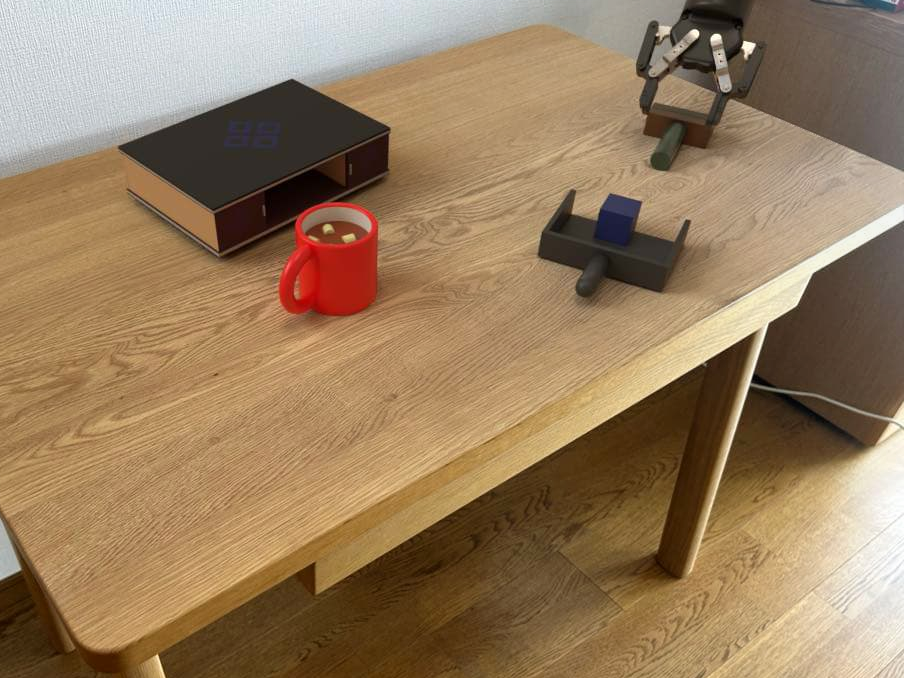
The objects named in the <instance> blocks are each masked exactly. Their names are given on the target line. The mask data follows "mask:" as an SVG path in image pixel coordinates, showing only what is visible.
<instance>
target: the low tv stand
mask: <svg viewBox="0 0 904 678" xmlns="http://www.w3.org/2000/svg"><path fill="white" fill-rule="evenodd" d="M391 130H392V128H391V127H390V126H389V125H387V124H384V123H383V122H381V121H378V120H376V119H374V118H372V117H370V116H368V115H366V114H364V113H362V112H360V111H359V110H356V109H354V108H352V107H350V106H348V105H346V104H344V103H342V102H340V101H338V100H336V99H334V98H332V97H330V96H328V95H326V94H324V93H322V92H320V91H318V90H316V89H314V88H312V87H310V86H308V85H306V84H304V83H302V82H300V81H298V80H296V79H294V78H290V79H287V80H284V81H282V82H280V83H277V84H274V85H271V86H269V87H266V88H264V89H262V90H259V91H256V92H254V93H251V94H248V95H246V96H243V97H241V98H238V99H236V100H233V101H231V102H228V103H226V104H225V103H224V104H223V105H220V106H217V107H215V108H212V109H210V110H207V111H205V112H202V113H199V114H197V115H195V116H192V117H189V118H186V119H184V120H182V121H179V122H176V123H174V124H171V125H169V126H166V127H163V128H161V129H158V130H156V131H153V132H151V133H148V134H145V135H143V136H141V137H138V138H136V139H135V138H134V139H132V140H130V141H128V142H125V143H122V144H120V145H118V146H117V149H118V153H120V157H121V162H122V166H123V170H124V175H125V180H126V186H127V188H125V190H126V194H127V195H129V196H130V197H132V198H133V199H134V200H136V201H138V202H139V203H140V204H142V205H143V206H144V207H146V208H147V209H149V210H150V211H152V212H153V213H155V215H157V216H159V217H160V218H161V219H163V220H164V221H166V222H167V223H168V224H170V225H171V226H173V227H174V228H176V229H177V230H179V231H180V232H181V233H183V234H184V235H186V236H187V237H188V238H190V239H191V240H193V241H195V242H196V243H197V244H199V245H200V246H201V247H202V248H204V249H206V250H207V251H208V252H210V253H212V254H213V255H214V256H216V257H217V258H219V259H220V258H222V257H224V256H227V255H228V254H230V253H232V252H234V251H236V250H239V249H240V248H242V247H245V246H246V245H249V244H250V243H253V242H254V241H256V240H259V239H261V238H262V237H263V238H264V237H265V236H267V235H268V234H270V233H273V232H275V231H277V230H279V229H281V228H283V227H285V226H287V225H289V224H292V223H293V222H296V221H297V219H298V217H299V216H300V215H301V214H302V213H303V212H304V211H306V210H308V209H309V208H311V207H314V206H316V205H320V204H324V203H334V202H336V201H337V200H339V199H341V198H343V197H346V196H348V195H349V194H352V193H354V192H356V191H357V190H360V189H361V188H364V187H366V186H368V185H370V184H372V183H374V182H376V181H378V180H380V179H381V178H384V177H387V176H389V175H390V174H391V173H390V170H391V169H390V168H389V153H390V152H389V151H390V134H391V133H392V131H391Z"/></svg>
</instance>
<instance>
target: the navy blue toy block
mask: <svg viewBox="0 0 904 678" xmlns="http://www.w3.org/2000/svg"><path fill="white" fill-rule="evenodd" d="M642 204H643V201H642V200H639V199H634V198H631V197H627V196H623V195H621V194H620V195H619V194H616V193H612V192H609V194H608V195H607V196H606V198H605V199H604V202H603V203H602V205H600V207H599V211H598V215H597V219H596V221H597V224H596V228H595V232H594V237H595V238H598V239H602V240H605V241H609V242H613V243H616V244H620V245H623V246H626V245H627V243H628V241H629V239H630V238H631V236H632V234H633V232H634V231H636V227H637V224H638V219H639V216H640V213H641V208H642V206H643V205H642Z"/></svg>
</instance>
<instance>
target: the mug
mask: <svg viewBox="0 0 904 678" xmlns="http://www.w3.org/2000/svg"><path fill="white" fill-rule="evenodd" d="M294 229H295V230H294V231H295V234H294V235H295V251H294V252H293V253H292V254H291V255H290V256H289V258H288V259H287V261H286V262H285V264H284V267H283V268H282V272H281V274H280V277H279V281H278V299H279V302H280V305H281V306H282V308H283V309H284V310H285V311H286V312H287V313H289V314H292V315H302V314H304V313H306V312H308V311H310V310H311V311H314V312H316V313H319V314H321V315H322V314H323V315H326V316H349V315H352V314H357V313H359V312H361V311H363V310H365V309H367V308H368V307H370V306H371V304H372V303H374V301H375V299H376V297H377V292H378V253H379V251H378V250H379V248H378V247H379V223H378V220H377V218H376V216H375V215H374V214H373V213H372V212H371V211H369V210H368V209H366V208H365V207H362V206H360V205H357V204H354V203H348V202H340V201H339V202H337V201H334V202H331V203H324V204H320V205H316V206H314V207H311V208H309V209H308V210H306V211H304V212H303V213H302V214H301V215H300V216H299V217H298V219H297V220H295V224H294ZM296 282H297V284H298V285H297V286H298V296H299V298H296V296H295V286H296Z"/></svg>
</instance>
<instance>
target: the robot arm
mask: <svg viewBox="0 0 904 678" xmlns="http://www.w3.org/2000/svg"><path fill="white" fill-rule="evenodd" d="M755 2H756V0H685V2H684V5H683V8H682V9H681V13H680V16H679V18H678V20H677V21H676V22H675V24H673V25H672V26H666V25H660V24H659V21H658V20H655V19H654V20H650V21H649V22H648V25H647V27H646V31H645V34H644V38H643V41H642V43H641V46H640V50H639V53H638V56H637V59H636V62H635V72H636V76H637V77H638V78H642V79H644V80H645V82H644V85H643V88H642V90H641V94H640V96H639V99H638V100H639V101H638V102H639V103H638V104H639V105H638V106H639V109H640V110H641V114H642V115H645V116H647V115H648V114H649V111H650V109H651V107H652V105H653V104H654V100H655V97H656V95H657V92H658V89H659V83H661V82H662V81H663V80H664V79H665V78H666V77H667V76H669V75H672V74H673V73H674V72H676V70H678V69H679V68H680V67H681V69H683V70H688V71H691V70H696V71H698V72H699V73H701V74H707V75H709V73H713V77H714V83H715V84H716V87H717V91H716V93H715V96H714V98H713V101H712V103H711V107H710V110H709V112H708V113H707V114H708V117H707V120H706V123H705V129H710V130H711V128H712V125H715V127H716V126H718V125H719V124H720V123H721V120H722V117H723V115H724V112H725V110H726V107H727V105H728V102H729V101H730V100H732V99H739V100H743V99H745V98H748V95H749V93H750V90H751V88H752V86H753V83H754V81H755V79H756V76H757V74H758V72H759V69H760V67H761V64H762V62H763V60H764V58H765V54H766V51H767V46H768V45H767V42H766V41H764V40H759V41H757V42H755V43H754V42H751V41H746V40H744V33H745V29H746V27H747V24H748V21H749V19H750V16H751V14H752V10H753V8H754V5H755ZM666 39H669V41H670V44H671V48H670V49H669V50H668V51H667V52H666V53H665V54H663V56H662V58H661V59H660V60H659V61H657V63H655V64H654V65H653V66H652V65H651V61H652V57H653V54H654V51H655V48H656V47H657V46H660V45H662V44H663V42H664V41H665V40H666ZM740 53H742V54H743V63H745V64H746V66H745V68H744V71H743V73H742V75H741V78H740V80H739V82H732V81H731V76H730V71H729V65H728V64H729V63H728V62H729V61H730V60H732V59H734V58H735V57H736V56H737V55H739V54H740Z"/></svg>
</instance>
